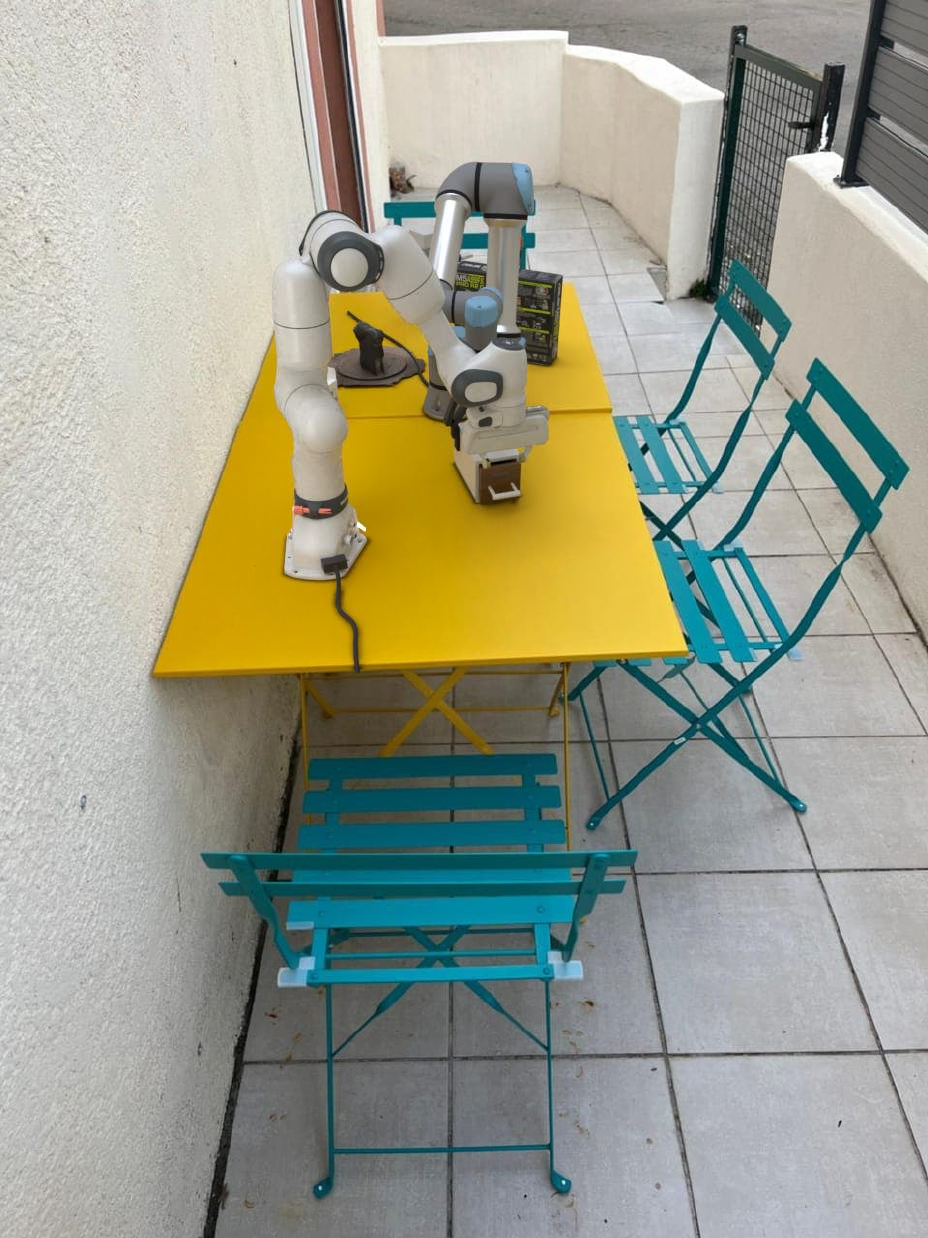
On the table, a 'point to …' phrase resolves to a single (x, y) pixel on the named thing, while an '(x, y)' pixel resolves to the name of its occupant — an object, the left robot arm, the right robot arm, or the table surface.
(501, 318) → the right robot arm
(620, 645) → the table surface
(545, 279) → the box
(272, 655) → the table surface
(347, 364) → the sculpture
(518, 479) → the drawer
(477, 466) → the cabinet
